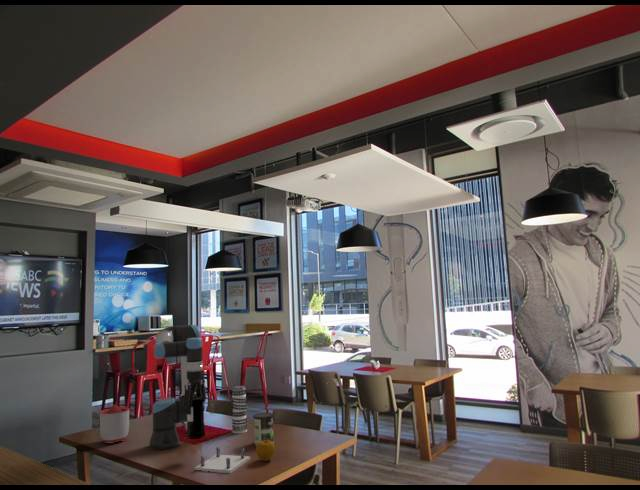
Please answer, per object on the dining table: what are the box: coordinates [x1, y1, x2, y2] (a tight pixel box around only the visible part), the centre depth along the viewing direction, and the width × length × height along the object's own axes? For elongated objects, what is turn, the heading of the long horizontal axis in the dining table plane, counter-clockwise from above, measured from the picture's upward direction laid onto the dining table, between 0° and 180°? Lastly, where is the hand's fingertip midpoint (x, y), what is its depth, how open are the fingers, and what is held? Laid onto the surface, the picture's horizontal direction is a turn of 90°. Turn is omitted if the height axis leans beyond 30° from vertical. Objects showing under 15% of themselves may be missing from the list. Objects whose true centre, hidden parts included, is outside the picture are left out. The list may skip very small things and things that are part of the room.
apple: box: [255, 440, 276, 462], centre depth 215 cm, size 9×9×9 cm
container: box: [185, 396, 206, 440], centre depth 223 cm, size 9×9×18 cm
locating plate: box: [194, 446, 251, 474], centre depth 212 cm, size 18×18×5 cm
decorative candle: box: [230, 385, 249, 434], centre depth 268 cm, size 9×9×25 cm
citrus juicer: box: [98, 403, 130, 443], centre depth 261 cm, size 16×17×20 cm
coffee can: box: [252, 412, 275, 446], centre depth 243 cm, size 10×10×14 cm
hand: (195, 418), depth 223 cm, fingers closed on container, 8 cm apart
